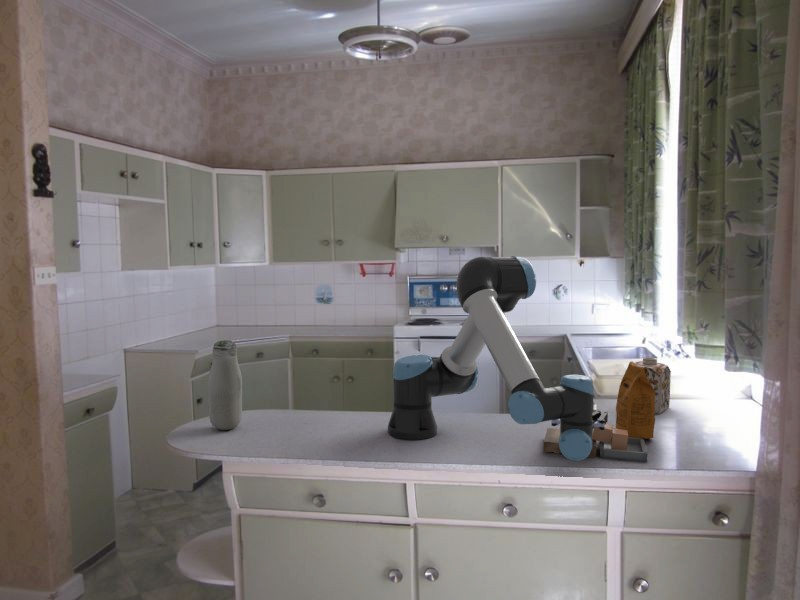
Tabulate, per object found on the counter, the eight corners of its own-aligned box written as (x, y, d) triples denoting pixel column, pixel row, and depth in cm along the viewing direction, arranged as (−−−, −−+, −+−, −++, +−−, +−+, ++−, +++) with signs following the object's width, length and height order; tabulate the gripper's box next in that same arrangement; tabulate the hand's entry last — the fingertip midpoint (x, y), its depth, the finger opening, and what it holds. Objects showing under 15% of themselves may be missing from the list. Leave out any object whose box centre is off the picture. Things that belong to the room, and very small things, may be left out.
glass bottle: (205, 433, 195) (203, 343, 193) (216, 424, 206) (213, 338, 203) (237, 433, 195) (235, 343, 193) (246, 424, 205) (244, 338, 203)
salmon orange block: (612, 433, 176) (628, 435, 175) (612, 428, 181) (627, 430, 180) (610, 450, 177) (626, 453, 176) (610, 445, 181) (625, 447, 180)
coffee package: (643, 429, 200) (645, 360, 198) (657, 442, 187) (660, 368, 186) (611, 429, 200) (613, 360, 198) (623, 441, 188) (625, 367, 186)
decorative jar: (626, 409, 225) (627, 358, 224) (636, 402, 234) (638, 354, 233) (661, 414, 218) (663, 362, 216) (670, 407, 227) (672, 357, 226)
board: (543, 452, 178) (543, 441, 178) (547, 437, 192) (547, 427, 191) (596, 456, 174) (596, 446, 174) (595, 441, 187) (596, 431, 187)
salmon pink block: (591, 439, 179) (594, 425, 179) (591, 434, 184) (594, 421, 184) (610, 443, 178) (613, 430, 177) (609, 438, 183) (612, 425, 182)
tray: (599, 457, 174) (600, 449, 174) (599, 442, 187) (599, 434, 187) (647, 461, 170) (647, 453, 170) (643, 445, 184) (643, 438, 184)
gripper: (535, 440, 166) (542, 417, 188) (619, 447, 160) (617, 423, 182) (535, 411, 166) (543, 392, 187) (620, 418, 160) (617, 397, 181)
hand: (579, 408), depth 185 cm, fingers closed on ceramic mug, 8 cm apart
